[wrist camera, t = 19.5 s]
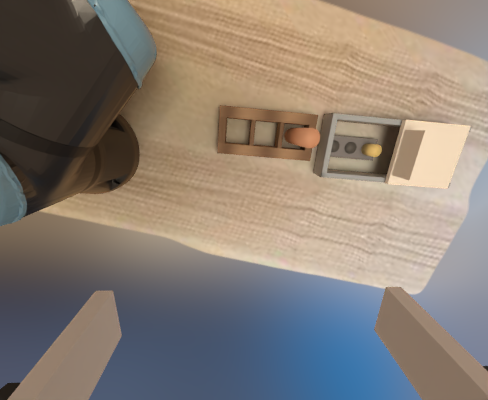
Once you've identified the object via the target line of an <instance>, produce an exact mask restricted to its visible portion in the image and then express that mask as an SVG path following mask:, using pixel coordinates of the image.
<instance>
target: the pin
mask: <svg viewBox="0 0 488 400" xmlns="http://www.w3.org/2000/svg"><path fill="white" fill-rule="evenodd" d="M285 140H286V141H287V142H288V143H291V144H294V145H298V146H302V147H305V148H313V147H315V146H317V144H318V143H319V141H320V133H319V132H318V130H316V129H315V128H290V129H288V130H287V131H286V133H285Z"/></svg>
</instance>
